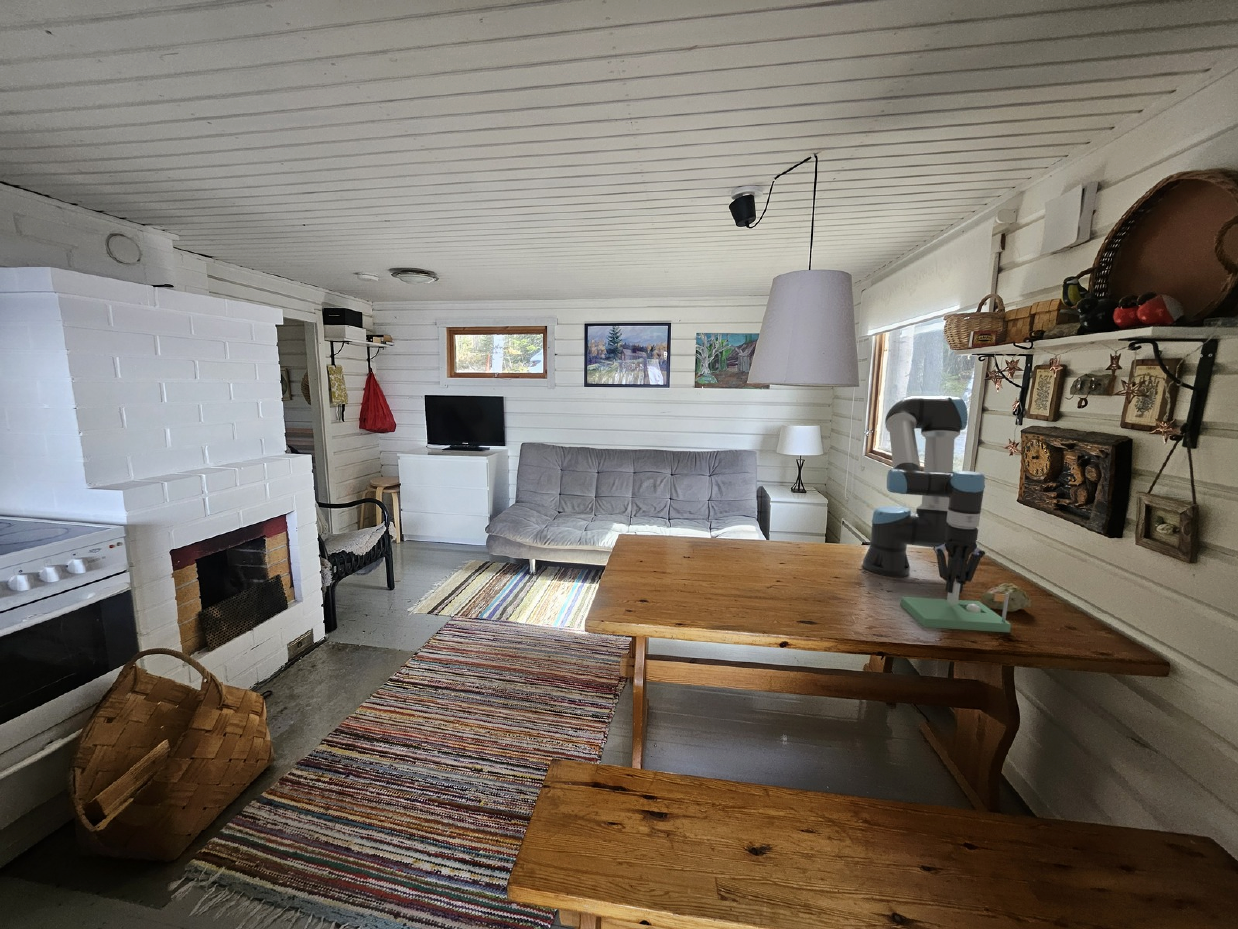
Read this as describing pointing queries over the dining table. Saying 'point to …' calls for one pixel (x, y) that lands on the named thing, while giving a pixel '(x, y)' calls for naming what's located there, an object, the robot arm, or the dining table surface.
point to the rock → (1015, 600)
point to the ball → (973, 608)
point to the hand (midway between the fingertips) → (952, 602)
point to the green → (957, 614)
